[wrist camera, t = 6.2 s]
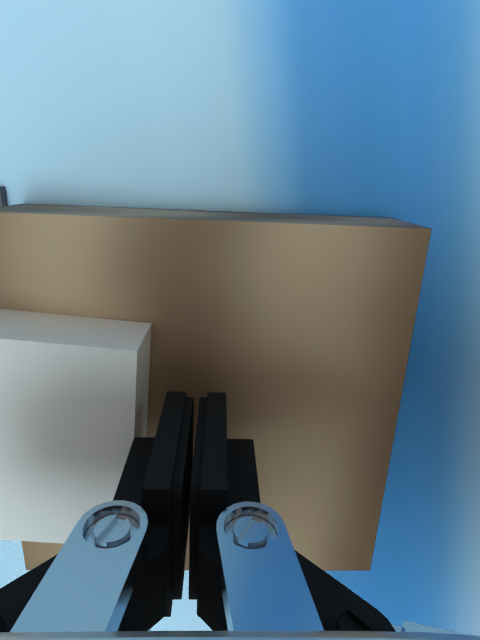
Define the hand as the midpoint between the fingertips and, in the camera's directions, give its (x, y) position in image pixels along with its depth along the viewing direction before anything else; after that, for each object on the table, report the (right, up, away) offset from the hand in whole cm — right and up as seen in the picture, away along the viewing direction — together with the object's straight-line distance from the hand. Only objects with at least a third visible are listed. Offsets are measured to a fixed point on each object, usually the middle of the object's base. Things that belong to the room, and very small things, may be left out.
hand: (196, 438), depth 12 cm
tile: (-6, +1, +1) cm, 6 cm away
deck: (0, +1, +4) cm, 4 cm away
